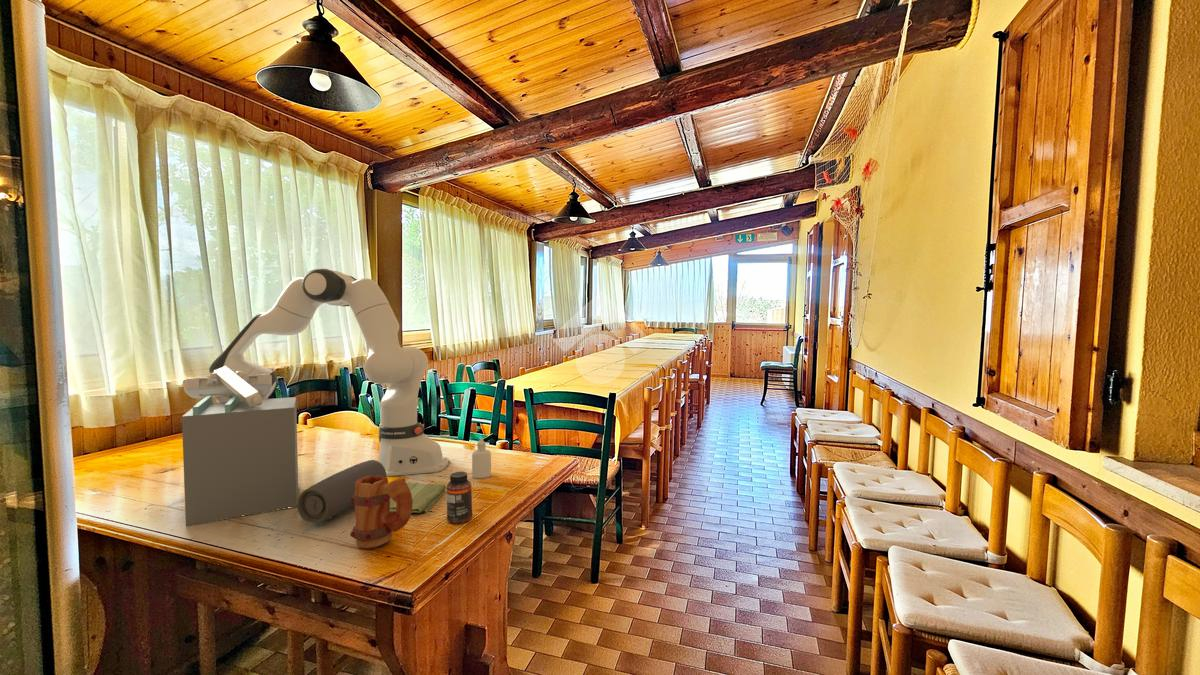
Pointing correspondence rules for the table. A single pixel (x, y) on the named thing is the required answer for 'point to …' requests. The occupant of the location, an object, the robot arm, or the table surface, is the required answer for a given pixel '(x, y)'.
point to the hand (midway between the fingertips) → (226, 374)
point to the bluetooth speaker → (335, 492)
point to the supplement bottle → (459, 498)
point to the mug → (379, 509)
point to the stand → (239, 458)
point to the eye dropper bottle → (481, 461)
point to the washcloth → (422, 496)
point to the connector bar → (239, 387)
